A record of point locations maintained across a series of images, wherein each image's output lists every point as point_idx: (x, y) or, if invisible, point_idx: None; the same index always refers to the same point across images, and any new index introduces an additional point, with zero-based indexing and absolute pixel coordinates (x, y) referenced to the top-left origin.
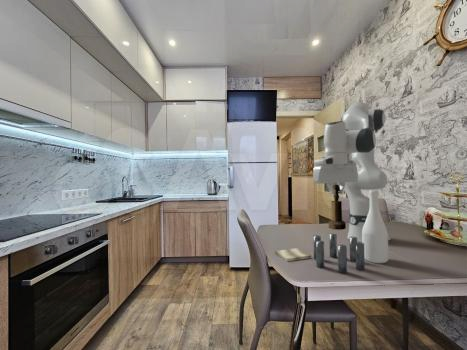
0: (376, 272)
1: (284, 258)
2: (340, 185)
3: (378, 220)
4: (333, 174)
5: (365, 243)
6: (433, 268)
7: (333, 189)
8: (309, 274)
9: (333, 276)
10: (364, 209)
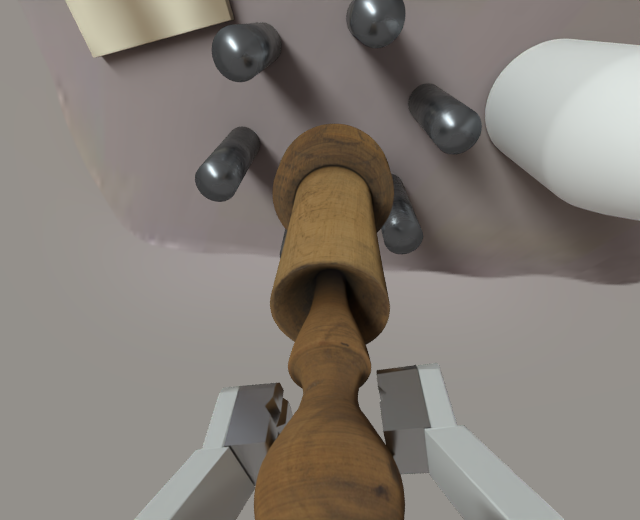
0: (420, 222)
1: (82, 25)
2: (499, 515)
3: None
4: None
5: (515, 130)
6: None
7: (248, 494)
8: (181, 204)
9: (257, 228)
10: None
